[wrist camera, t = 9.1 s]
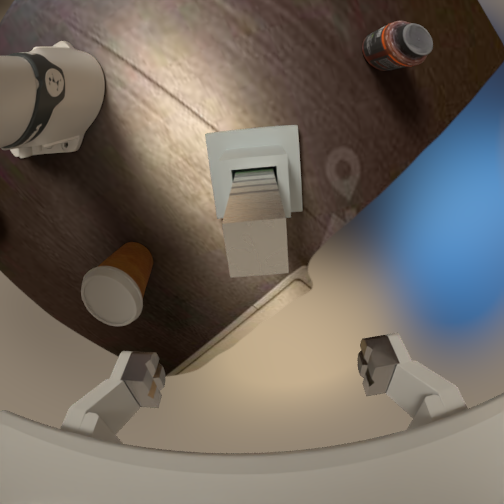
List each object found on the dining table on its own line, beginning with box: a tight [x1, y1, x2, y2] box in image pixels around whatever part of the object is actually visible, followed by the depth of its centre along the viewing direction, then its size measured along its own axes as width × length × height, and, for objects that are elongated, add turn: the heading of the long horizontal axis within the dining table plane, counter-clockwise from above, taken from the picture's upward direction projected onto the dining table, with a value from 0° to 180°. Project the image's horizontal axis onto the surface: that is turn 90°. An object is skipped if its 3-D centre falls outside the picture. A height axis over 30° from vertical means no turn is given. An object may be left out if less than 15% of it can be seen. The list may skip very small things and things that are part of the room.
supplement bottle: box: [362, 21, 433, 71], centre depth 26 cm, size 6×6×11 cm
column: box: [222, 166, 289, 278], centre depth 27 cm, size 4×4×16 cm
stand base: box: [205, 125, 303, 219], centre depth 36 cm, size 12×12×10 cm
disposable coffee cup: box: [81, 242, 153, 326], centre depth 42 cm, size 10×10×12 cm
